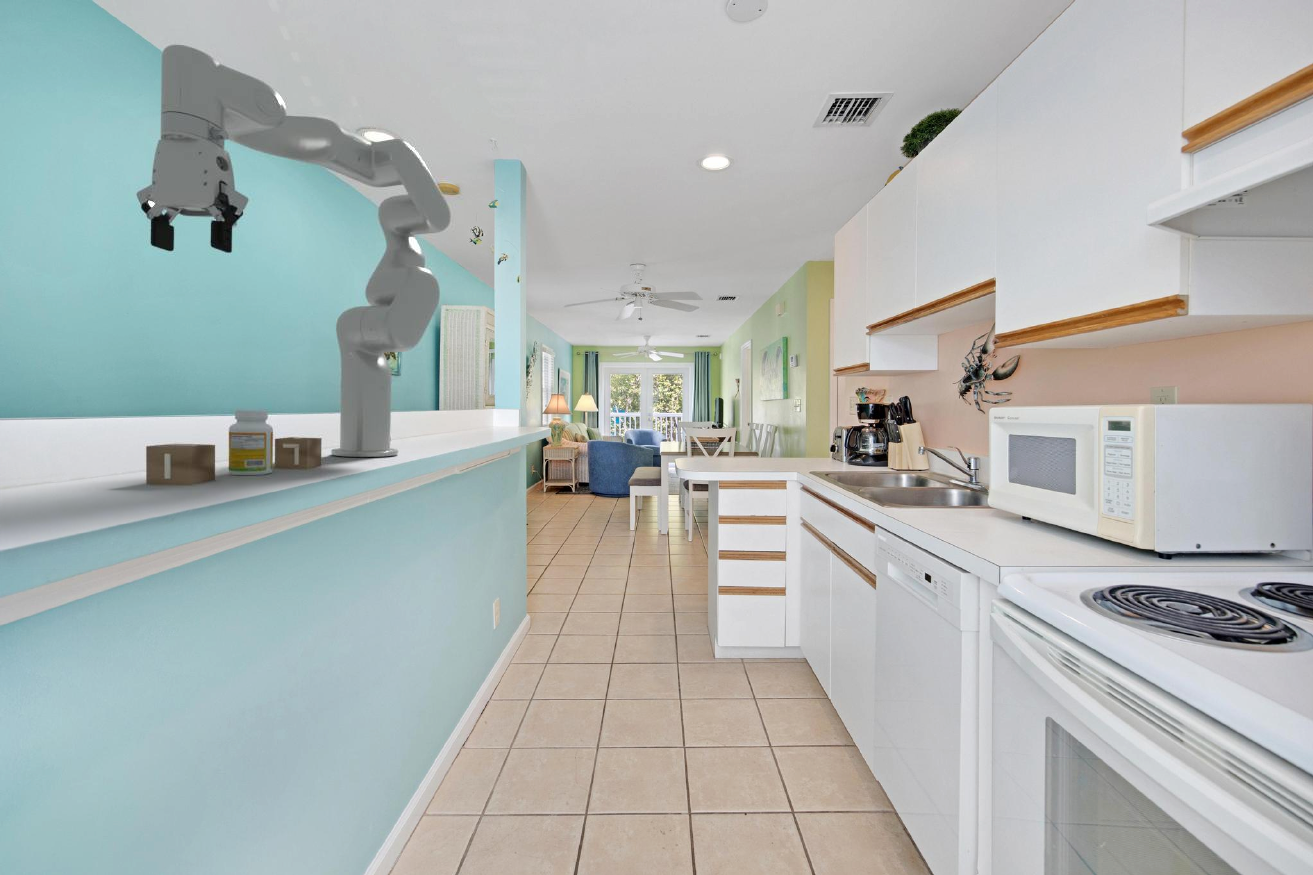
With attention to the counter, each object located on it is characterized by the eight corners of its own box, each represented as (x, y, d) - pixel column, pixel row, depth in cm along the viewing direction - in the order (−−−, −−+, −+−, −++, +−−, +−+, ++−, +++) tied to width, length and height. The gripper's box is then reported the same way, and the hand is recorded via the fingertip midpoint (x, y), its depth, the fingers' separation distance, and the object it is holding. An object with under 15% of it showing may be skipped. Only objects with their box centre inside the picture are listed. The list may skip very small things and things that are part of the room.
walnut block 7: (290, 465, 95) (290, 436, 95) (321, 466, 96) (321, 437, 96) (274, 468, 90) (274, 438, 90) (306, 469, 91) (307, 439, 91)
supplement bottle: (247, 471, 86) (248, 409, 85) (281, 472, 86) (281, 410, 85) (219, 474, 81) (219, 409, 80) (254, 476, 80) (255, 410, 80)
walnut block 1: (174, 479, 75) (174, 443, 75) (215, 480, 76) (215, 444, 75) (145, 485, 70) (145, 445, 70) (188, 486, 71) (188, 446, 70)
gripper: (265, 150, 87) (263, 258, 88) (164, 148, 89) (162, 255, 89) (225, 125, 80) (223, 243, 81) (115, 123, 81) (114, 240, 82)
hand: (191, 249), depth 85 cm, fingers open, 9 cm apart
